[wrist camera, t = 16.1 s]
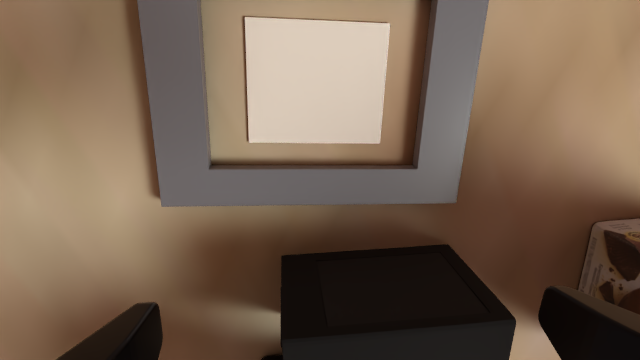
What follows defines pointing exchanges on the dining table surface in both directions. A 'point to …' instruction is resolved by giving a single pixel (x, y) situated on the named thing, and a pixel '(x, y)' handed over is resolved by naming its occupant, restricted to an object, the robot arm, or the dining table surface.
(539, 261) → the dining table surface
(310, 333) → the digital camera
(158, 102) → the label frame
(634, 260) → the coffee box
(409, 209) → the dining table surface
